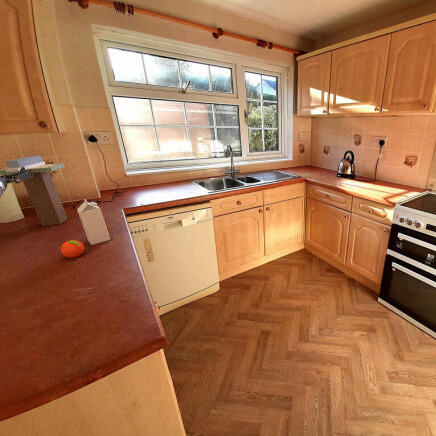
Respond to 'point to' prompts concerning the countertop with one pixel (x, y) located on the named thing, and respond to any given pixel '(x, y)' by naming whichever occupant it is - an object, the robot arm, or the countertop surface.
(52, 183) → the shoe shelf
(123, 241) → the countertop surface
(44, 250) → the countertop surface
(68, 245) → the clementine
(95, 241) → the milk carton
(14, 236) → the countertop surface
